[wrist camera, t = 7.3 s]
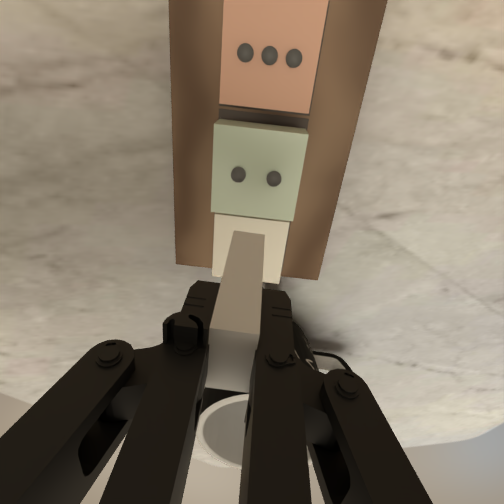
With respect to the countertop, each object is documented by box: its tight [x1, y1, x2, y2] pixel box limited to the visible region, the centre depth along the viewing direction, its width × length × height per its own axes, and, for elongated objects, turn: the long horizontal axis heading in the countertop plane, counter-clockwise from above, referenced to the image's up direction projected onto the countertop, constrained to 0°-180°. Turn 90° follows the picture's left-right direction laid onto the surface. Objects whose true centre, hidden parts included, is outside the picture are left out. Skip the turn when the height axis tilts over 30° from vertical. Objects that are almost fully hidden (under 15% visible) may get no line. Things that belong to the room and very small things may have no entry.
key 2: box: [211, 119, 309, 221], centre depth 22 cm, size 6×6×3 cm
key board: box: [169, 0, 387, 280], centre depth 26 cm, size 14×22×2 cm, turn 174°
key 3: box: [219, 0, 329, 114], centre depth 20 cm, size 6×6×3 cm
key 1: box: [212, 212, 290, 284], centre depth 27 cm, size 6×6×3 cm
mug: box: [196, 321, 353, 470], centre depth 33 cm, size 16×16×12 cm
